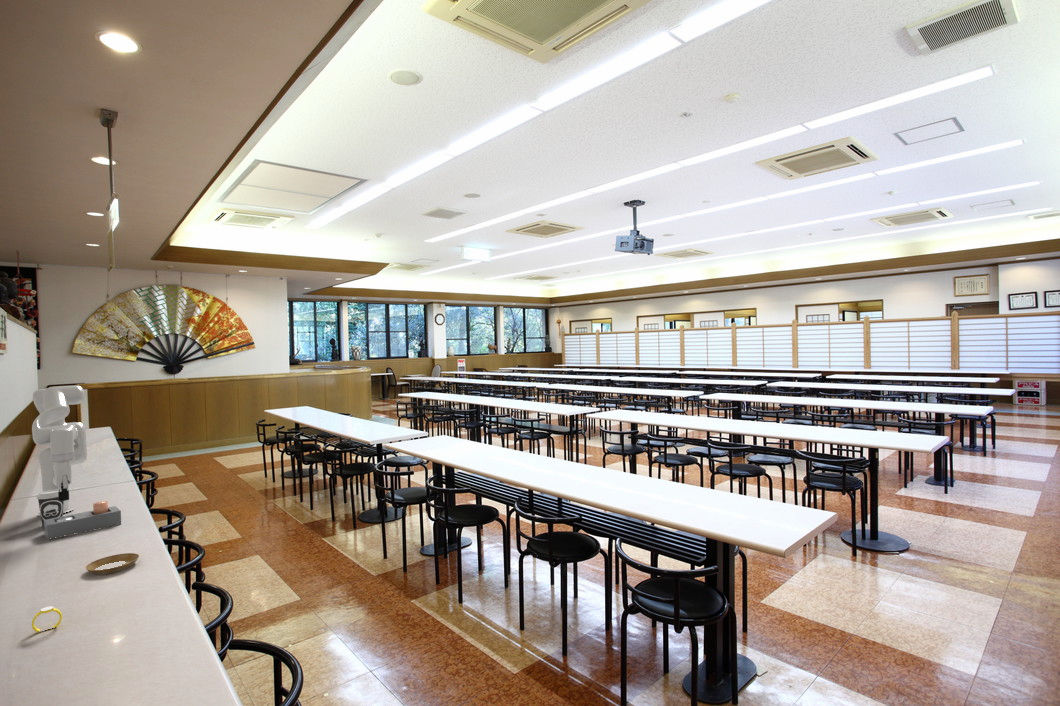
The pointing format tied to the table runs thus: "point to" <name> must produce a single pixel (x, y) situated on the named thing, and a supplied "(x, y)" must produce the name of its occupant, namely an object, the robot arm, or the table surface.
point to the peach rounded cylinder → (100, 507)
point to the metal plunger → (64, 519)
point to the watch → (46, 610)
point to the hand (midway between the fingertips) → (63, 500)
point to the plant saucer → (127, 557)
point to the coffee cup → (50, 505)
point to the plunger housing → (81, 522)
